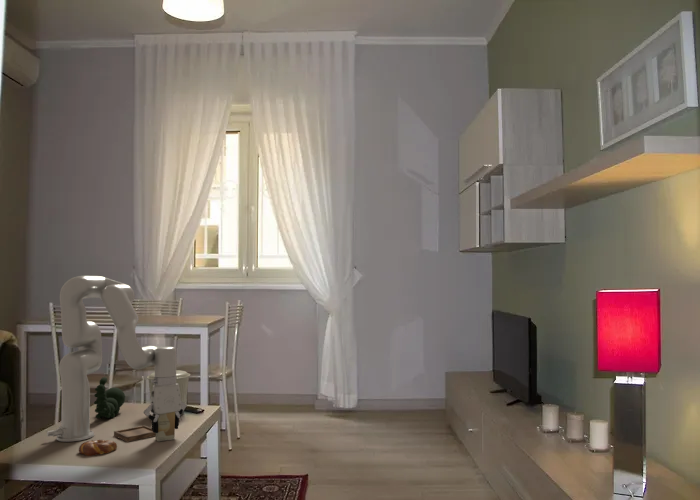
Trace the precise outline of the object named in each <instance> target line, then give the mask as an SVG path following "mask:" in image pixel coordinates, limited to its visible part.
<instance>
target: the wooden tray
mask: <svg viewBox="0 0 700 500" xmlns="http://www.w3.org/2000/svg"><path fill="white" fill-rule="evenodd" d="M113 436H114V437H116V438H118V439H121V440H123V441H125V442H127V443H128V442H133V441H137V440H143V439H147V438H153V437H156V433H154V432H153V431H152V427H150V426H148V425H139V426H134V427H130V428H124V429H119V430H114V431H113Z"/></svg>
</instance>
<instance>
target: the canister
mask: <svg viewBox="0 0 700 500" xmlns="http://www.w3.org/2000/svg"><path fill="white" fill-rule="evenodd" d="M154 377H155V371H153V372H152V373H150V374H149V375H147V376H146V380H148V388H149V389H148V390H149V397H150V400H151V394H152V389H153V386H154V385H155V384H154V383H151V380H153V379H154ZM190 377H191V373H188V372H187V371H185V370H180V369H178V370H177V369H176V383H178V384H179V389H180V395H181V401H182V402H183V403H184V404H186V405H187V397H188V389H189V379H190ZM184 411H185V409H184V410H183V412H184Z"/></svg>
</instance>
